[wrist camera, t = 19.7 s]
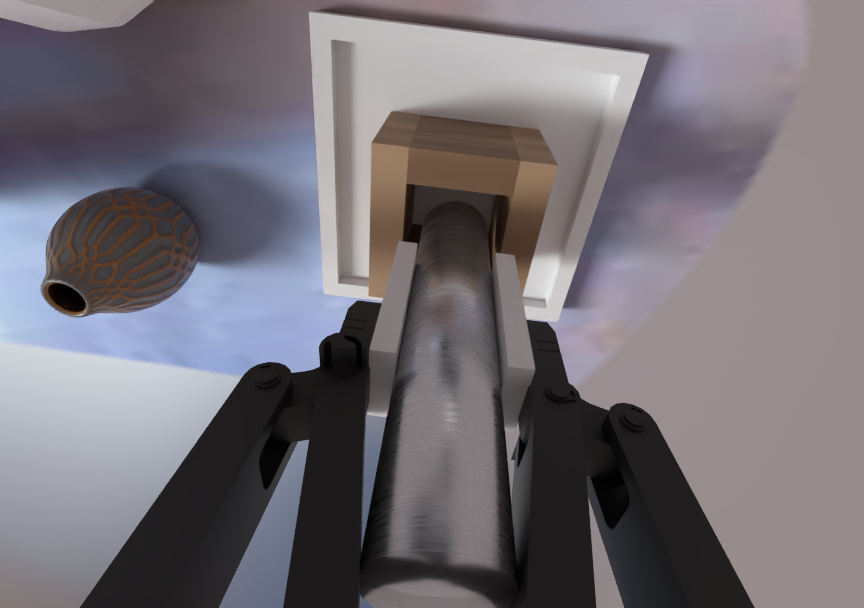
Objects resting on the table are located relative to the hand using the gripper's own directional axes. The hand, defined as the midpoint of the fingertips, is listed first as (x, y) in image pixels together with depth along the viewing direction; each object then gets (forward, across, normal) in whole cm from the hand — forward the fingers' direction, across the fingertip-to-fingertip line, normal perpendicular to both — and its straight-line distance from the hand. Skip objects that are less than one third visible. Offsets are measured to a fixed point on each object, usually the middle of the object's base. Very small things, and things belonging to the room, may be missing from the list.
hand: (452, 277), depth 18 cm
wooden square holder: (+10, 0, 0) cm, 10 cm away
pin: (+4, 0, 0) cm, 4 cm away
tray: (+10, 0, 0) cm, 10 cm away
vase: (+10, -19, -5) cm, 22 cm away
